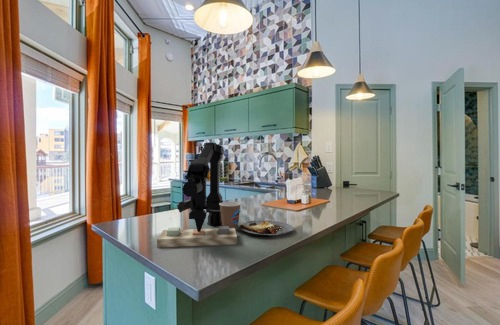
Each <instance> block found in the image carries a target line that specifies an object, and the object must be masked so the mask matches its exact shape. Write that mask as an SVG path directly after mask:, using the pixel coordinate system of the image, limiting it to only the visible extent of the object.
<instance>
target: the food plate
mask: <svg viewBox="0 0 500 325" xmlns="http://www.w3.org/2000/svg"><path fill="white" fill-rule="evenodd" d="M273 226H275V227H273ZM270 227H271V228H270ZM280 227H282V228H284V229H285V232H284V231H283V232H281V233H279V231H280V230H279V229H282V228H280ZM238 228H239V230H240V231H243V232H245V233H247V234H252V235H257V236H267V237H270V236H275V237H278V236H279V235H280V236H283V235H285V234H288V233H289V232H294V230H295V227H293V225H292V224H289V223H287V222H282V221H280V220H279V221H278V220H264V219H263V220H251V221H247V222H244V223H241V224H240V225H239V226H238ZM268 228H269V229H268ZM276 230H278V231H276ZM276 233H278V234H276ZM280 236H279V237H280Z"/></svg>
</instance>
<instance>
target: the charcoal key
mask: <svg viewBox="0 0 500 325" xmlns="http://www.w3.org/2000/svg"><path fill="white" fill-rule="evenodd" d="M217 226H218V227H217V229H218V234H229V226H222V225H217Z"/></svg>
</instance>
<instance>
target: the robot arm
mask: <svg viewBox="0 0 500 325" xmlns="http://www.w3.org/2000/svg"><path fill="white" fill-rule="evenodd" d="M224 150H225V149H224V147H223V146H222V145H221V144H217V143H216V142H213V141H212V142H209V141H208V142H204V144H203V148H202V150H201V151H200V153H199V156H198V157H197V158H195V159H192V161H191V162H190V164H189V165H188V168H187V172H186V176H185V180H187V181H186V182H184V184H183V186H182V188H181V190H182V192H183V195H184V196H186V197H189V199H185V200H181V201H179V202H178V203H177V204H176V207H177V208H176V209H177V210H178V212H179V213H182V212H184V211H187V210H189V209H190V211H189V213H188V220H194V222H195V226H196V229H197V231H198V232H200V231H201V229H203V225H204V224H205V220H206V219H207V222H206V224H207V225H209V226H211V227H217V226H222V220H221V211H220V205H219V204H220V203H222V202H224V200H223V195H222V194H221V193H220V164H221V161H222V160H223V157H224V154H225V151H224ZM209 165H210V166H209ZM208 177H209V193H208V195H207V179H208ZM207 213H208V214H207Z"/></svg>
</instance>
